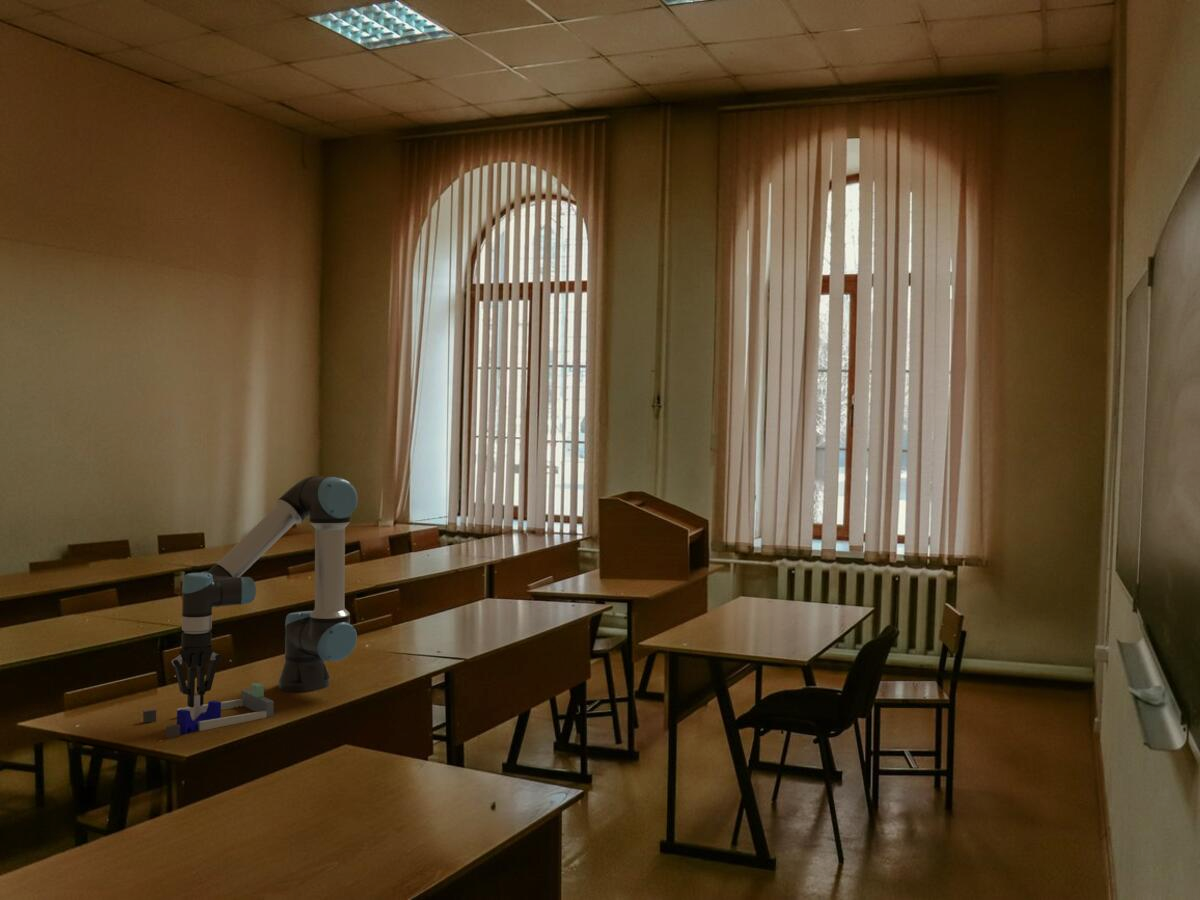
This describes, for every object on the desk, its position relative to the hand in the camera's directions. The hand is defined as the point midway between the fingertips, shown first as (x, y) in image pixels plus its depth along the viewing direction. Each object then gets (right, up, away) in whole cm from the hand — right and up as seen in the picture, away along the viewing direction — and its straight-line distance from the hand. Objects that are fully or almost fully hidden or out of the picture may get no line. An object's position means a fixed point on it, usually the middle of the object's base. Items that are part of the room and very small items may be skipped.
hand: (195, 718), depth 276 cm
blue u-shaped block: (+2, -2, -4) cm, 5 cm away
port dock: (+5, -1, +5) cm, 7 cm away
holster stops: (-7, -1, -6) cm, 9 cm away
